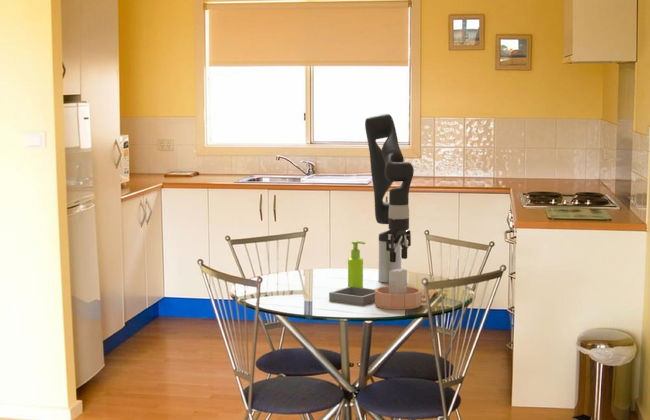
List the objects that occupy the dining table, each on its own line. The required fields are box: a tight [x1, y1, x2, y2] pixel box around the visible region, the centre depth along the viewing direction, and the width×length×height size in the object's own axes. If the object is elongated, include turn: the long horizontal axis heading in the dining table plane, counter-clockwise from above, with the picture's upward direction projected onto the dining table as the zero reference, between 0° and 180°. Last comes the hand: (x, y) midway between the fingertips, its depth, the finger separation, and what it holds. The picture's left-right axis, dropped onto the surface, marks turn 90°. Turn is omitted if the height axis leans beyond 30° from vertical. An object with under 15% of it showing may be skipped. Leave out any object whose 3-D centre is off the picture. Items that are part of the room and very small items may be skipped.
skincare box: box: [388, 268, 408, 294], centre depth 346 cm, size 6×4×12 cm
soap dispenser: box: [347, 240, 366, 288], centre depth 371 cm, size 6×7×20 cm
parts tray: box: [328, 286, 376, 306], centre depth 357 cm, size 15×15×3 cm
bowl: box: [374, 285, 422, 311], centre depth 347 cm, size 17×17×6 cm
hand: (398, 260), depth 345 cm, fingers open, 8 cm apart
